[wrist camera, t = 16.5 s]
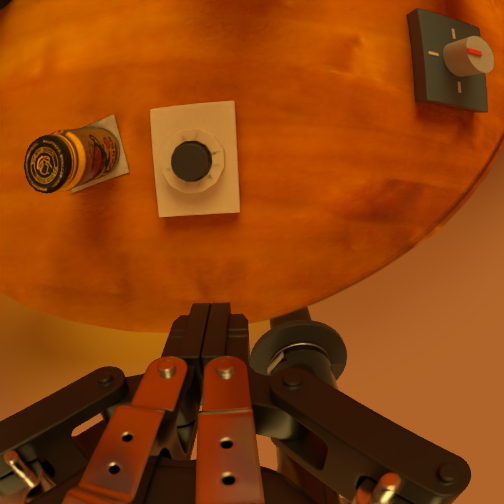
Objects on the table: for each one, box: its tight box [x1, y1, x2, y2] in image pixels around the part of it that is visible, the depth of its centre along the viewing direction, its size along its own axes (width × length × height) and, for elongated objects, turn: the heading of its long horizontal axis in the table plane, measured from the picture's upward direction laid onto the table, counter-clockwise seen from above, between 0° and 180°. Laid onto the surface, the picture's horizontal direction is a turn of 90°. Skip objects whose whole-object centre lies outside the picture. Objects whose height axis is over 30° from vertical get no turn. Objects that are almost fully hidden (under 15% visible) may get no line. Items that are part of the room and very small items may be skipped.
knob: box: [443, 36, 494, 77], centre depth 25 cm, size 4×4×5 cm
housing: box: [150, 101, 241, 217], centre depth 33 cm, size 12×9×4 cm
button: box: [171, 143, 210, 181], centre depth 31 cm, size 4×4×2 cm
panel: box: [407, 8, 488, 112], centre depth 29 cm, size 12×10×3 cm
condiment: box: [24, 114, 129, 193], centre depth 29 cm, size 7×8×12 cm
